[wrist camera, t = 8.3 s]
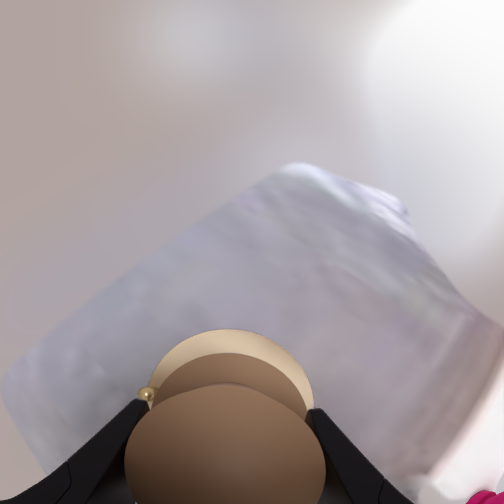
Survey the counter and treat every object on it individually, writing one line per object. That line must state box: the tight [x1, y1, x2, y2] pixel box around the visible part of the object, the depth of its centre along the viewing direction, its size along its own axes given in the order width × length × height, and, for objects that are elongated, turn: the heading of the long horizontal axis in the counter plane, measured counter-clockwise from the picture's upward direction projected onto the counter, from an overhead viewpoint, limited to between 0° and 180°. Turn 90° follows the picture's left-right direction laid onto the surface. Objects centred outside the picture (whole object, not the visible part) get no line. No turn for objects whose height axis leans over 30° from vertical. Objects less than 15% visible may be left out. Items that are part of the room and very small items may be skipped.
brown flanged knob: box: [124, 353, 326, 504], centre depth 9 cm, size 8×8×9 cm
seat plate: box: [138, 329, 314, 411], centre depth 17 cm, size 12×12×3 cm
